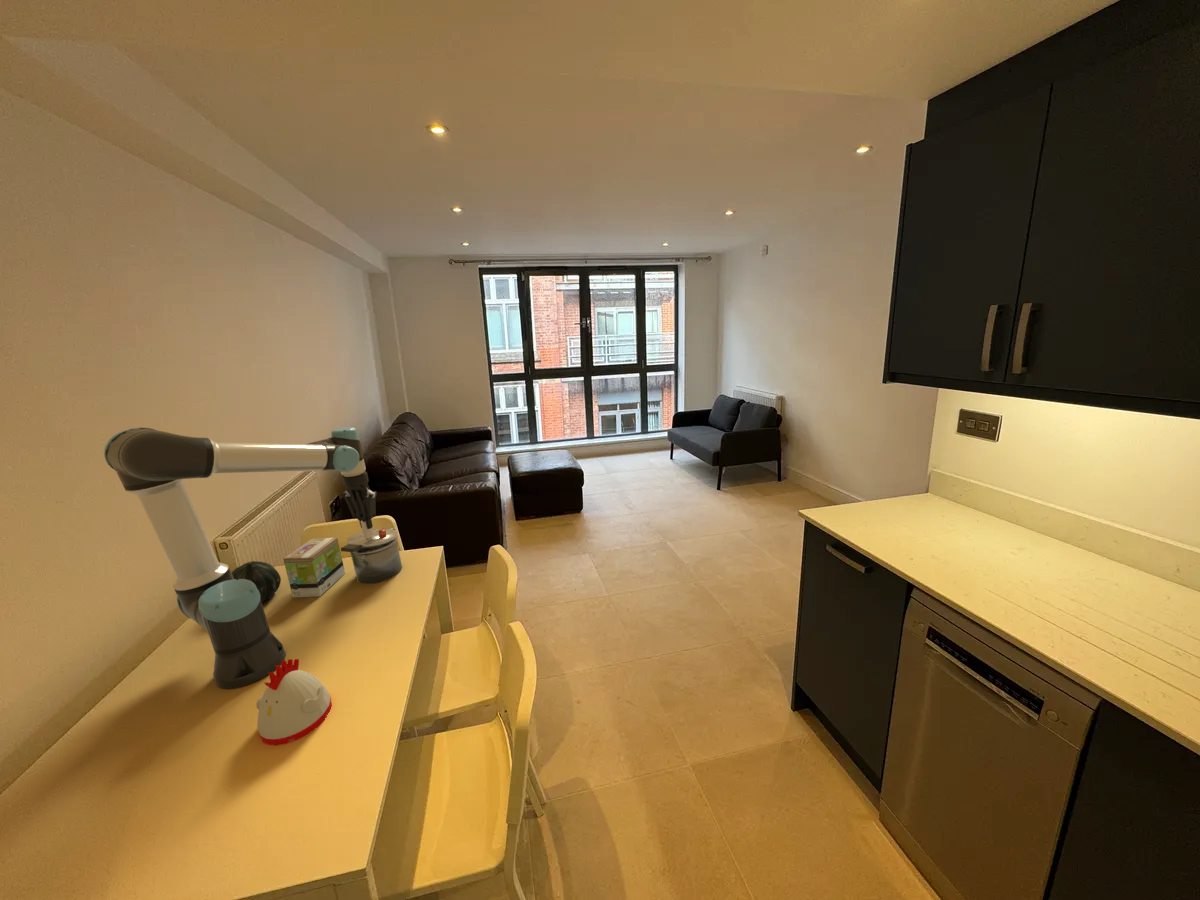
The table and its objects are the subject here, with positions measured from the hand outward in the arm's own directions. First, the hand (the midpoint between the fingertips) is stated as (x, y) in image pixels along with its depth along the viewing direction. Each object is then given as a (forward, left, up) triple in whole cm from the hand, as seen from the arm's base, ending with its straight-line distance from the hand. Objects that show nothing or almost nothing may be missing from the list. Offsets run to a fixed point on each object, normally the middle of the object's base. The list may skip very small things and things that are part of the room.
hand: (369, 536), depth 161 cm
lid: (0, 0, -2) cm, 2 cm away
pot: (+1, 0, -15) cm, 15 cm away
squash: (-21, +31, -15) cm, 40 cm away
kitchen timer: (-57, -28, -15) cm, 65 cm away
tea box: (-10, +16, -15) cm, 24 cm away
